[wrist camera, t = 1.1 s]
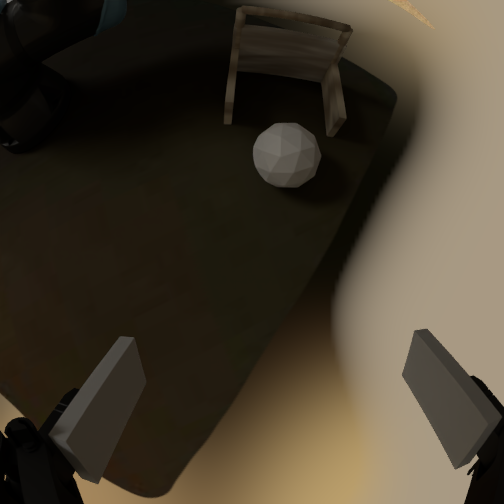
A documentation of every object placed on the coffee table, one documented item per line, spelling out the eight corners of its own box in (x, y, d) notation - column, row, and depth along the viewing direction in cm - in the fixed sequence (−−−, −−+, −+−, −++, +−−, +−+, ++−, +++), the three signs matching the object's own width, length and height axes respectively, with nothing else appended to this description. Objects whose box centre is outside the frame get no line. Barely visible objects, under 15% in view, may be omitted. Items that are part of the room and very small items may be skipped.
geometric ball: (274, 190, 38) (259, 203, 31) (254, 134, 36) (234, 133, 28) (329, 174, 35) (328, 183, 28) (309, 116, 33) (302, 109, 26)
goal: (333, 137, 37) (372, 83, 25) (223, 123, 35) (227, 58, 23) (326, 79, 39) (354, 25, 26) (230, 65, 37) (236, 3, 25)
